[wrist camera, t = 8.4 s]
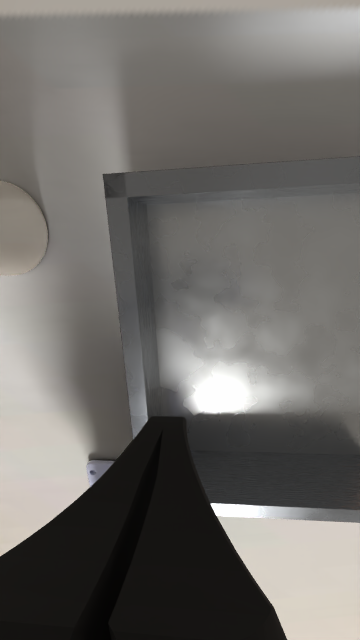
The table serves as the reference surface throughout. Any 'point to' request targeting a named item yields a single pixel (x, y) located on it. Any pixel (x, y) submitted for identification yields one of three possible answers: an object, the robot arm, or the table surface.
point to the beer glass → (20, 231)
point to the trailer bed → (247, 326)
